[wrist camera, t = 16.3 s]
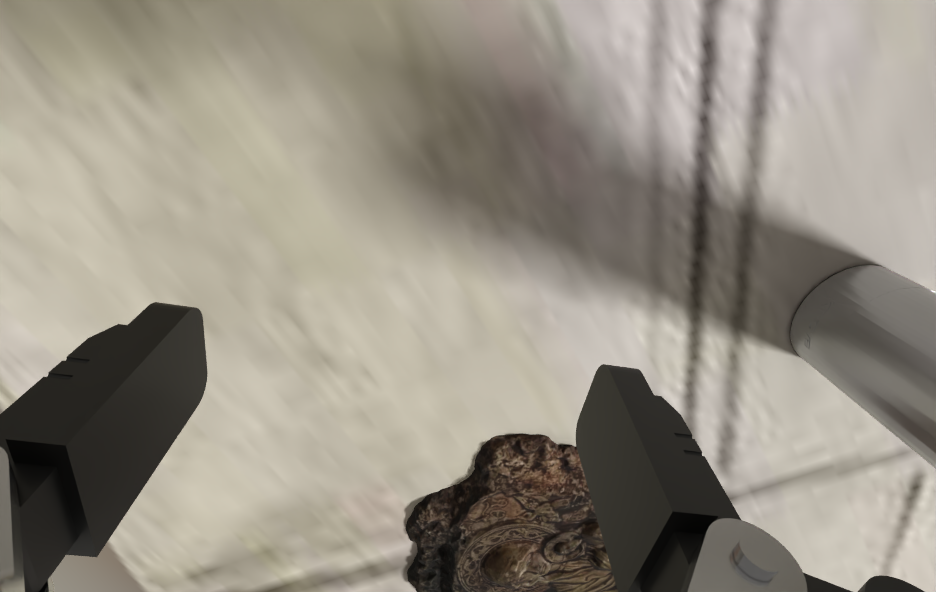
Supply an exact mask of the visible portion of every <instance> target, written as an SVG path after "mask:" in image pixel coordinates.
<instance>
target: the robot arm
mask: <svg viewBox="0 0 936 592" xmlns="http://www.w3.org/2000/svg"><path fill="white" fill-rule="evenodd" d="M790 334H791V343H792V345H793V348H794V350H795V351H796V352H797V354H798V355H799V356H800V357H801V358H802V359H804V360H805V361H806V362H807V363H808V364H810V365H811V366H812V367H813V368H815V369H816V370H817V371H818V372H819V373H821V374H822V375H823V376H824V377H825V378H827V379H828V380H829V381H830V382H831V383H833V384H834V385H835V386H836V387H837V388H838V389H840V390H841V391H842V392H843V393H845V394H846V395H847V396H848V397H849V398H851V399H852V400H853V401H854V402H855V403H857V404H858V405H859V406H860V407H861V408H863V409H864V410H865V411H866V412H868V413H869V414H870V415H871V416H872V417H874V418H875V419H876V420H877V421H878V422H880V423H881V424H882V425H883V426H885V427H886V428H887V429H888V430H889V431H891V432H892V433H893V434H894V435H895V436H897V437H898V438H899V439H900V440H902V441H903V442H904V443H905V444H906V445H908V446H909V447H910V448H911V449H912V450H914V451H915V452H916V453H917V454H919V455H920V456H921V457H922V458H923V459H925V460H926V461H927V462H928V463H929V464H931V465H932V466H933V467H934V468H936V292H934V291H932V290H930V289H928V288H926V287H924V286H922V285H920V284H918V283H916V282H914V281H912V280H910V279H908V278H905V277H903V276H901V275H899V274H897V273H895V272H893V271H891V270H889V269H886V268H884V267H882V266H875V265H865V266H857V267H853V268H850V269H846V270H844V271H842V272H839V273H837V274H835V275H833V276H832V277H830V278H828V279H827V280H825V281H824V282H822V283H821V284H820V285H819V286H818V287H816V288H815V289H814V290H813V291H812V292H811V293H810V294H809V295H808V296H807V297H806V299H805V300H804V301H803V302H802V304H801V305H800V307H799V309H798V310H797V312H796V314H795V317H794V319H793V322H792V326H791V332H790ZM206 382H207V362H206V351H205V339H204V327H203V317H202V314H201V311H200V310H199V309H198V308H194V307H187V306H179V305H172V304H165V303H157V302H155V303H152V304H150V305H149V306H148V307H147V308H146V309H145V310H144V311H142V312H141V313H140V314H139V315H138V316H137V317H136V318H135V319H134V320H133V321H132V322H131V323H130V324H128V325H121V324H118V325H115V326H113V327H111V328H109V329H107V330H105V331H103V332H101V333H98V334H96V335H94V336H92V337H90V338H88V339H87V340H86V341H85V342H83V343H82V344H81V345H80V346H79V347H78V348H76V349H75V350H74V351H73V352H72V353H71V354H70V355H68V356H67V359H66V361H61V362H60V363H59V364H58V365H57V366H56V367H55V368H53V369H52V370H51V371H50V372H49V374H48V377H43V378H42V379H41V380H39V381H38V382H37V383H36V384H35V385H34V386H33V387H31V388H30V389H29V390H28V391H27V392H26V393H24V394H23V395H22V396H21V397H20V398H19V399H18V400H16V401H15V402H14V403H13V404H12V405H11V406H9V407H8V408H7V409H6V410H5V411H4V412H3V413H1V414H0V592H54V585H53V581H52V577H51V574H52V573H53V572H54V570H55V569H56V567H57V566H58V565H59V564H60V562H61V561H62V559H63V558H64V557H65V555H78V556H90V557H97V556H98V555H99V553H100V551H101V550H102V549H103V547H104V546H105V544H106V543H107V541H108V540H109V538H110V537H111V535H112V534H113V532H114V531H115V529H116V528H117V526H118V525H119V523H120V522H121V520H122V519H123V517H124V516H125V514H126V513H127V511H128V510H129V508H130V507H131V505H132V504H133V502H134V501H135V499H136V498H137V496H138V495H139V493H140V492H141V490H142V489H143V487H144V486H145V484H146V483H147V481H148V480H149V478H150V477H151V475H152V474H153V472H154V471H155V469H156V468H157V466H158V465H159V463H160V462H161V460H162V459H163V457H164V456H165V454H166V453H167V451H168V450H169V448H170V447H171V445H172V444H173V442H174V441H175V439H176V438H177V436H178V435H179V433H180V432H181V430H182V429H183V427H184V426H185V424H186V423H187V421H188V420H189V418H190V417H191V415H192V414H193V412H194V411H195V409H196V408H197V406H198V405H199V403H200V401H201V399H202V397H203V394H204V391H205V387H206ZM576 446H577V451H578V454H579V458H580V461H581V465H582V468H583V472H584V475H585V479H586V482H587V486H588V489H589V493H590V496H591V499H592V503H593V506H594V510H595V513H596V517H597V520H598V524H599V527H600V531H601V534H602V538H603V541H604V545H605V548H606V552H607V555H608V558H609V562H610V565H611V569H612V572H613V576H614V579H615V583H616V586H617V590H618V592H852V591H849V590H846V589H844V588H841V587H839V586H836V585H833V584H831V583H828V582H826V581H823V580H820V579H818V578H815V577H813V576H810V575H807V574H805V573H803V572H802V569H801V568H800V566H799V564H798V563H797V561H796V560H795V559H794V557H793V556H792V555H791V553H790V552H789V551H788V550H787V549H786V548H785V547H784V546H783V545H782V544H781V543H780V542H779V541H777V540H776V539H775V538H774V537H772V536H771V535H770V534H768V533H767V532H765V531H764V530H762V529H760V528H758V527H756V526H755V525H753V524H750V523H748V522H745V521H742V520H741V519H740V517H739V515H738V514H737V512H736V510H735V508H734V507H733V505H732V503H731V501H730V500H729V498H728V496H727V495H726V493H725V491H724V489H723V488H722V486H721V484H720V482H719V481H718V479H717V477H716V475H715V474H714V472H713V470H712V469H711V467H710V465H709V463H708V462H707V460H706V458H705V457H704V456H702V451H701V449H700V448H699V446H698V444H697V442H696V441H695V439H692V434H691V432H690V430H689V429H688V427H687V425H686V423H685V422H684V420H683V418H682V416H681V415H680V414H679V413H678V412H677V411H676V410H675V409H674V408H673V407H672V406H671V405H670V404H669V403H668V402H667V401H666V400H664V399H663V398H662V397H661V396H655V395H654V394H653V393H652V391H651V389H650V387H649V385H648V383H647V381H646V380H645V378H644V376H643V374H642V372H641V371H640V370H638V369H634V368H626V367H619V366H612V365H604V364H603V365H601V366H600V367H599V368H598V370H597V371H596V374H595V376H594V379H593V382H592V384H591V387H590V390H589V392H588V395H587V397H586V400H585V403H584V405H583V408H582V411H581V413H580V416H579V419H578V422H577V428H576ZM858 592H924V591H922V590H921V589H919V588H917V587H915V586H914V585H911V584H909V583H907V582H905V581H903V580H900V579H897V578H893V577H889V576H874V577H872V578H870V579H869V580H868V581H867V582H866V583H865V584H864V585H863V586H862V588H861V589H860V590H859V591H858Z"/></svg>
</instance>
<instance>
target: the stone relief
mask: <svg viewBox="0 0 936 592" xmlns="http://www.w3.org/2000/svg"><path fill="white" fill-rule="evenodd" d="M474 467H475V470H474V472H473V473H472V475H471V476H470V477H469V478H468V479H466V480H464V481H463V482H461V483H459V484H457V485H453V486H451V487H448V488H445V489H442V490H440V491H438V492H435V493H432V494H429V495H427V496H426V497H425V498H424V499H423V500H422V501H421V502H420V503H418V504H417V505H416V506H415V508H414V511H413V513H412V514H411V516H410V517H409V519H408V521H407V524H406V531H407V533H408V536H409V538H410V540H411V541H415V542H416V543H417V548H418V553H417V556H416V557H415V559H414V562H413V564H412V565H411V566H410V568H409V569H408V572H407V574H408V581H409V582H410V583H411V584H412V585H413V586H414V587H415V588H416V591H417V592H618V590H617V586H616V583H615V579H614V576H613V572H612V569H611V565H610V562H609V558H608V555H607V552H606V548H605V545H604V541H603V538H602V534H601V531H600V527H599V524H598V520H597V517H596V513H595V510H594V506H593V503H592V499H591V496H590V493H589V489H588V486H587V482H586V479H585V475H584V472H583V468H582V465H581V461H580V458H579V454H578V451H577V447H574V446H572V445H565V446H559V445H557V444H556V443H554V442H553V441H551V439H550V438H549V437H547V436H544V435H529V434H515V435H503V436H495V437H493V438H491V439H490V440H489V441H488V442H487V443H486V444H484V445H483V446H482V447H481V450H480V452H479V453H478V455H477V457H476V459H475V466H474Z"/></svg>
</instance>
